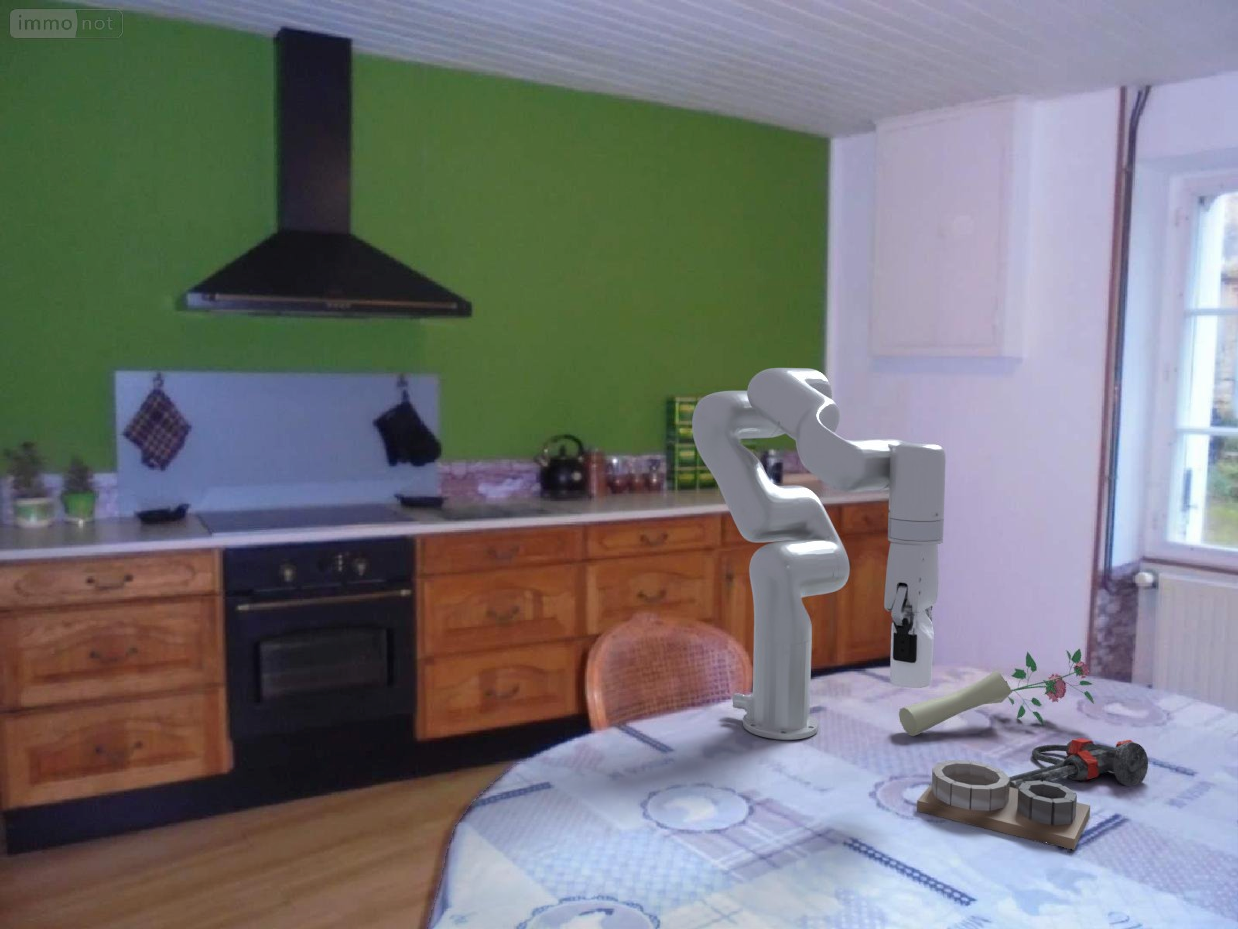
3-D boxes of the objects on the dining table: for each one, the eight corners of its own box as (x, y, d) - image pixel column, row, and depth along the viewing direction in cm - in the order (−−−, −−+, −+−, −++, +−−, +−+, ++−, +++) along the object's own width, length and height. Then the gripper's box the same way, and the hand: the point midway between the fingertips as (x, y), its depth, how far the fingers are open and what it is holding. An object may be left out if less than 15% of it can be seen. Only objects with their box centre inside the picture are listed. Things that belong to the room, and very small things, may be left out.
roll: (923, 595, 148) (942, 604, 142) (920, 676, 149) (939, 687, 144) (885, 597, 147) (903, 605, 141) (882, 678, 148) (900, 689, 142)
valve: (1086, 757, 165) (1168, 778, 152) (962, 790, 155) (1038, 815, 141) (1082, 718, 165) (1164, 735, 152) (958, 748, 155) (1033, 769, 141)
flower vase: (905, 770, 173) (1064, 704, 184) (946, 776, 161) (1114, 705, 172) (882, 702, 174) (1042, 641, 185) (922, 703, 163) (1090, 638, 174)
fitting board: (916, 811, 140) (918, 779, 139) (941, 781, 150) (943, 752, 149) (1073, 850, 129) (1075, 816, 128) (1089, 816, 139) (1091, 784, 138)
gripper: (909, 521, 153) (905, 639, 155) (868, 536, 139) (864, 666, 140) (959, 525, 149) (955, 647, 150) (922, 541, 135) (918, 675, 136)
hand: (911, 654), depth 145 cm, fingers closed on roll, 5 cm apart
